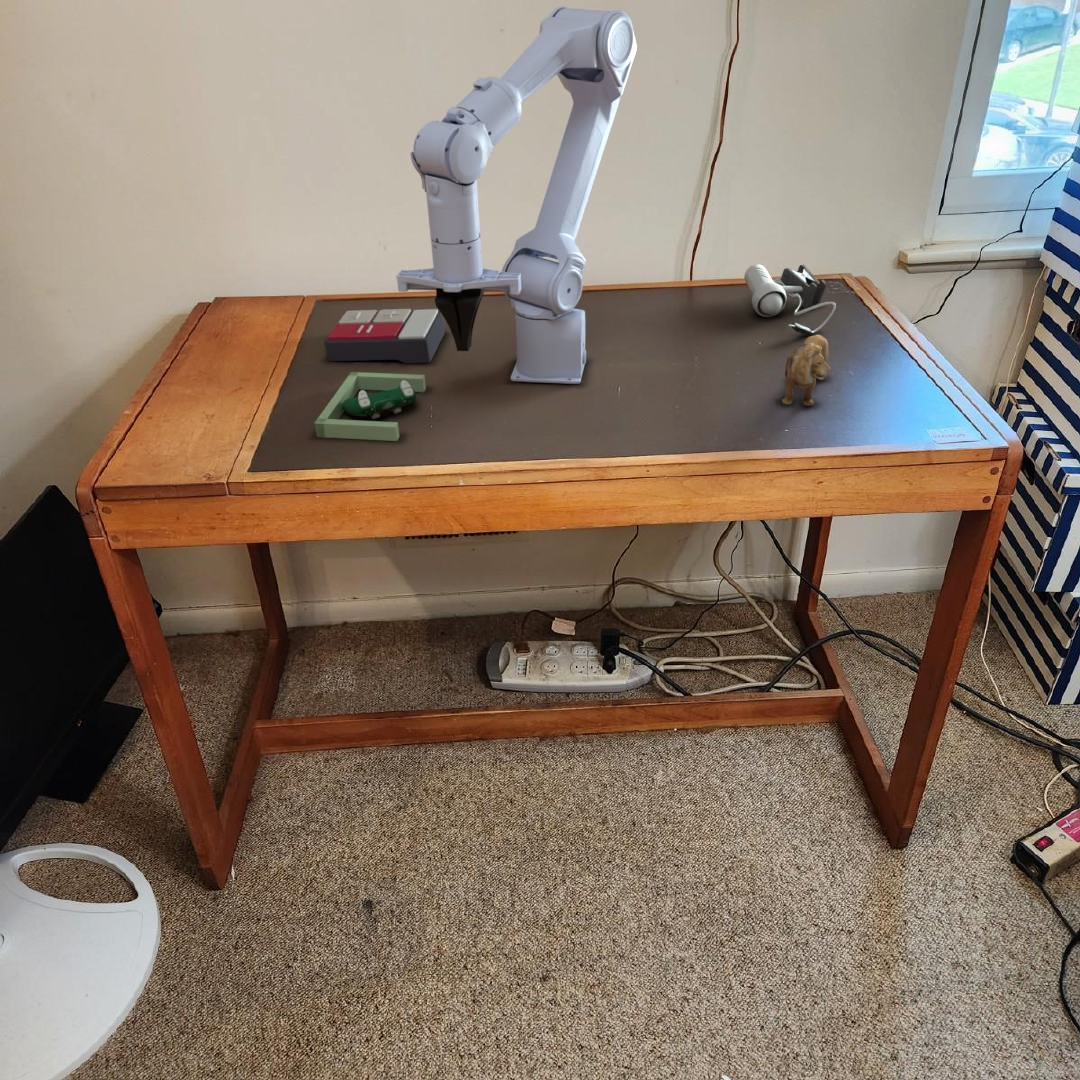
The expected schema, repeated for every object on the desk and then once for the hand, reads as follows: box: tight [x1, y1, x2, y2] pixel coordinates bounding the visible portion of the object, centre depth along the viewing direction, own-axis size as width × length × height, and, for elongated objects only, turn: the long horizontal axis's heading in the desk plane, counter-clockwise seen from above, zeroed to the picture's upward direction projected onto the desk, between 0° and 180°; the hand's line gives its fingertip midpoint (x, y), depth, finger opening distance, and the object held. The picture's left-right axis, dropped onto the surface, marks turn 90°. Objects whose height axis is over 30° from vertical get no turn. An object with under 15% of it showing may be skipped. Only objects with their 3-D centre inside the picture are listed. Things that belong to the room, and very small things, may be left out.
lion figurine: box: [781, 334, 832, 407], centre depth 114 cm, size 15×5×9 cm, turn 163°
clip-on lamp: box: [744, 263, 837, 337], centre depth 136 cm, size 12×6×18 cm
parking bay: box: [314, 371, 427, 442], centre depth 115 cm, size 10×14×2 cm
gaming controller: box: [342, 380, 417, 420], centre depth 114 cm, size 9×4×6 cm
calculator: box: [324, 308, 446, 364], centre depth 131 cm, size 11×4×15 cm
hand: (464, 347), depth 110 cm, fingers closed
